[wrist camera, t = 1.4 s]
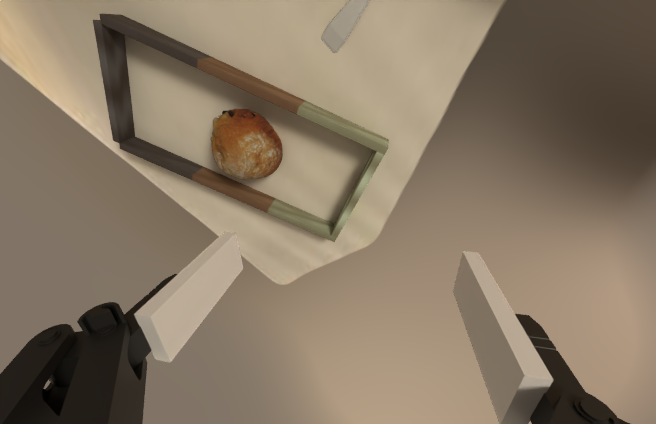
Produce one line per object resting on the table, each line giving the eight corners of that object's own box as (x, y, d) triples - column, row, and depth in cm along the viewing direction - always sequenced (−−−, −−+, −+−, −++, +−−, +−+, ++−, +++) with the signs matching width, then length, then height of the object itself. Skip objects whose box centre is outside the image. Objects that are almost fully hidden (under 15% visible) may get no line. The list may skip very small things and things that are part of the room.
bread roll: (245, 159, 45) (235, 197, 41) (200, 112, 37) (181, 154, 32) (295, 145, 41) (289, 185, 37) (257, 90, 33) (244, 133, 29)
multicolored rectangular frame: (113, 11, 32) (91, 9, 29) (388, 139, 34) (388, 147, 32) (129, 139, 43) (114, 146, 40) (337, 230, 45) (334, 242, 42)
